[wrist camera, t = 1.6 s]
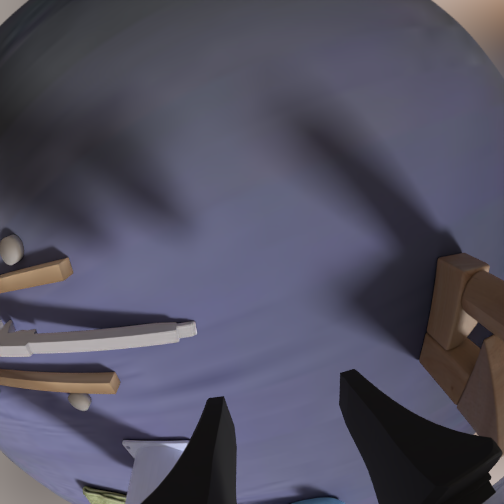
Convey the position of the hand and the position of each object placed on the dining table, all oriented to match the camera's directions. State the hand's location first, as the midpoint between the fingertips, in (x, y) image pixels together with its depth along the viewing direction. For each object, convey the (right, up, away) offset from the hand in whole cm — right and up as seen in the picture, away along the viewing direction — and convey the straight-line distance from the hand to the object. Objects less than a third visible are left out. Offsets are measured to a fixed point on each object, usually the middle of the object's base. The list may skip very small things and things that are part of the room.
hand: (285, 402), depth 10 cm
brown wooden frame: (+16, +1, +11) cm, 19 cm away
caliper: (-15, 0, +9) cm, 18 cm away
